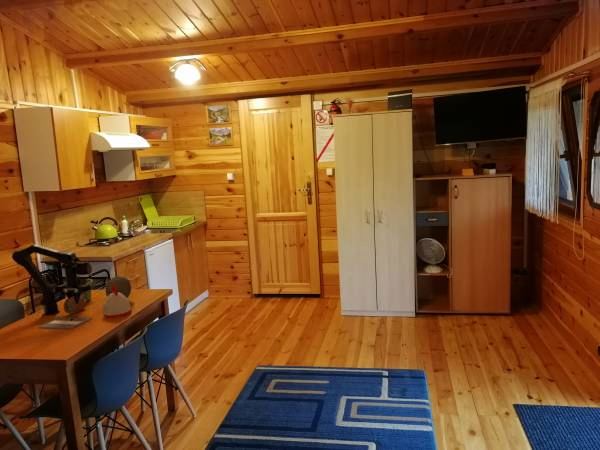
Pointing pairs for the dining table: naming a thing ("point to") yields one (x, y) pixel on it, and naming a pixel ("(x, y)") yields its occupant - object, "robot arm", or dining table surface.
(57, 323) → the mat
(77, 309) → the tin
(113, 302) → the kitchen timer
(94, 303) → the dining table surface
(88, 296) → the plant pot
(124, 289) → the cantaloupe
